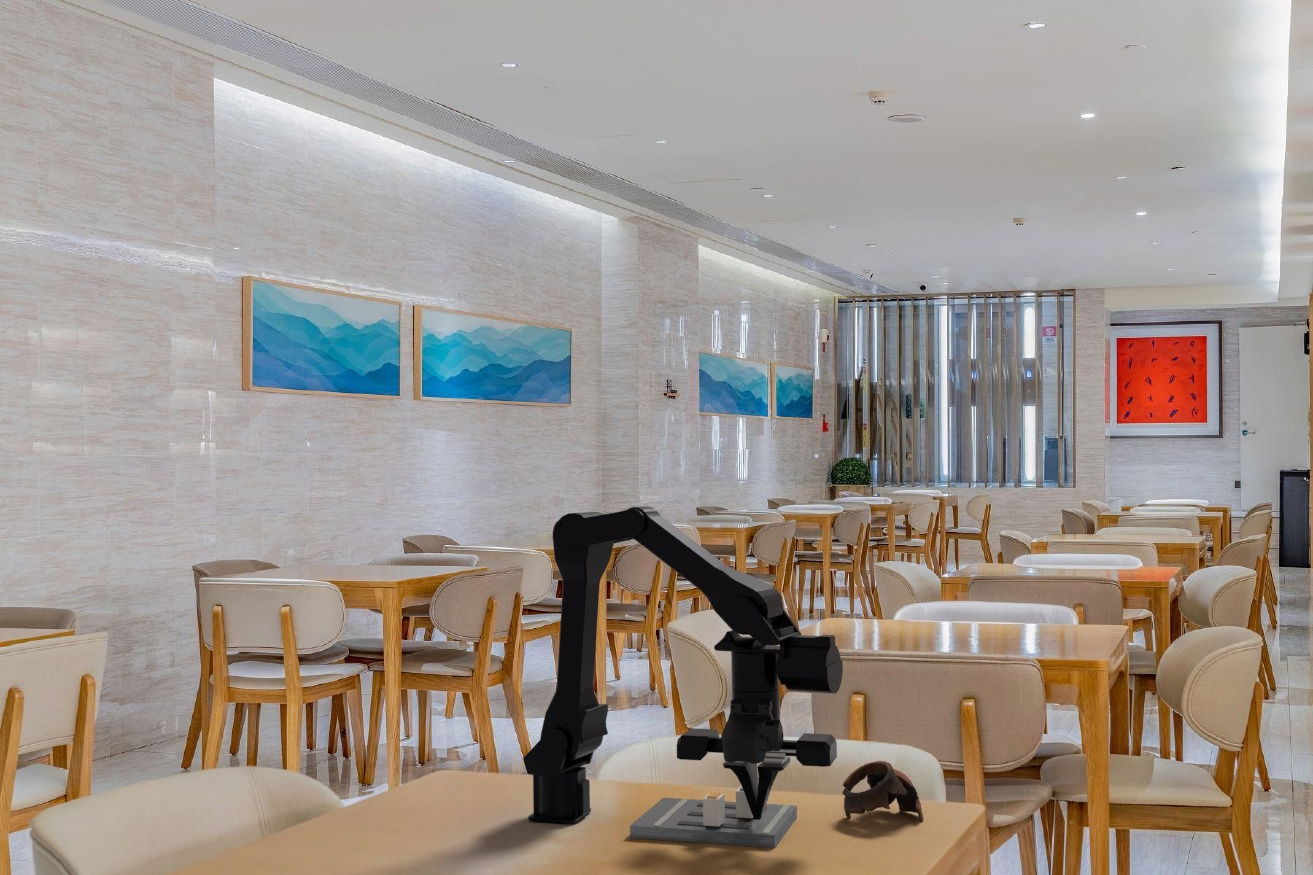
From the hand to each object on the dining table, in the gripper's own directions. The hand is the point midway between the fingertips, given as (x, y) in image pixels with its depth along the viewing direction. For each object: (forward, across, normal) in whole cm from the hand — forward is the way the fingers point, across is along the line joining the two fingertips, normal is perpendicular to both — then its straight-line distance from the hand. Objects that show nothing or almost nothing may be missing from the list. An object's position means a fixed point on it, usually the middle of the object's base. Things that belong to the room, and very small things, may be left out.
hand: (757, 818), depth 152 cm
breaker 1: (+1, -6, 0) cm, 6 cm away
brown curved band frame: (+3, +13, +14) cm, 20 cm away
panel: (+3, -6, +4) cm, 8 cm away
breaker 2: (+1, -3, +5) cm, 5 cm away
